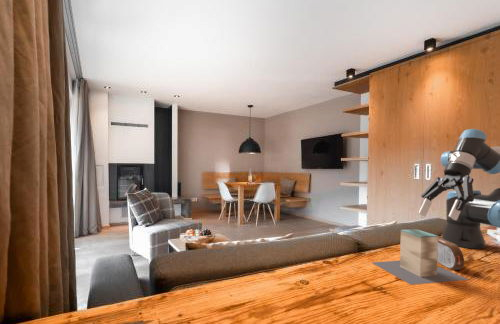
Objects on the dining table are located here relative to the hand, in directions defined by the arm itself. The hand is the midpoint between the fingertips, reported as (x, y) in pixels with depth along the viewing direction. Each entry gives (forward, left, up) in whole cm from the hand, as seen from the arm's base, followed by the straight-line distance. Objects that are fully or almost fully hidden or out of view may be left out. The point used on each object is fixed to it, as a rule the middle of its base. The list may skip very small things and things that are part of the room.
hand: (436, 216), depth 98 cm
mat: (+17, +9, -15) cm, 24 cm away
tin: (+3, +6, -15) cm, 17 cm away
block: (+17, +10, -15) cm, 24 cm away
